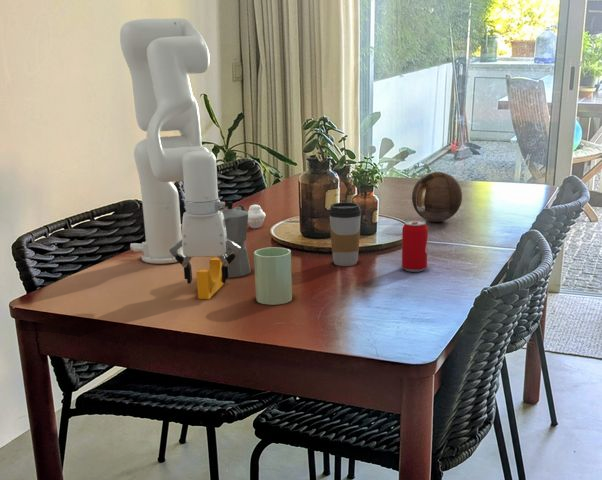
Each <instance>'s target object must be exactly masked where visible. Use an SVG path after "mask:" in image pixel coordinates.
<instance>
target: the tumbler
mask: <svg viewBox="0 0 602 480" xmlns="http://www.w3.org/2000/svg"><path fill="white" fill-rule="evenodd" d="M253 263H254V287H255V289H254V290H255V301H256V302H257V303H259V304H261V305H267V306H268V305H269V306H272V305H273V306H276V305H283V304H284V305H285V304H287V303H289V302H291V301H292V300H293V276H292V273H293V271H292V270H293V269H292V250H291V249H289V248H285V247H278V246H277V247H276V246H275V247H263V248H259V249H255V250H254V252H253Z"/></svg>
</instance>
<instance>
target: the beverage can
mask: <svg viewBox="0 0 602 480" xmlns="http://www.w3.org/2000/svg"><path fill="white" fill-rule="evenodd" d="M401 235H402V236H401V267H402V269H403V270H404V271H407V272H410V273H411V272H412V273H419V272H423V271H424V270H426V269H427V268H428V244H429V243H428V240H429V238H428V236H429V228H428V224H427V222H426V221H425V220H423V219H409V220H406V221H404V223H403V226H402V229H401Z"/></svg>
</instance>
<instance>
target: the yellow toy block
mask: <svg viewBox="0 0 602 480" xmlns="http://www.w3.org/2000/svg"><path fill="white" fill-rule="evenodd" d="M221 267H222V262H221V260H220V259H219V258H218V257H210V258H209V269H207V268H206V269H205V268H203V269H202V268H198V269H197V270H196V273H195V274H196V285H197V287H196V288H197V299H198V300H199V299H200V300H210V299H211V298H212V297H213V296H214V295H215V294H216V293H217V292H218V290H220V289H221V287H223V286H224V285H225V283H222V269H221Z"/></svg>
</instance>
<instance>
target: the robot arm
mask: <svg viewBox="0 0 602 480" xmlns="http://www.w3.org/2000/svg"><path fill="white" fill-rule="evenodd" d="M119 42H120V43H119V44H120V48H121V52H122V55H123V58H124V60H125V63H126V66H127V68H128V70H129V73H130V76H131V77H130V78H131V81H132V82H131V83H132V93H133V102H134V111H135V117H136V122H137V125H138V128H139V129H140V130H141V131H143V132H146V135H145V136H146V138H143V139H141V140H139V141H138V142H137V143H136V144H135V147H134V150H133V157H134V162H135V166H136V170H137V175H138V178H139V179H138V180H139V185H140V193H141V202H142V203H141V205H142V214H143V215H142V216H143V226H144V236H145V237H144V238H145V241H142V242H141V243H137V242H133V243H132V242H131V243H130V245H129V246H130V251H131V252H134V253H139V252H142V253H141V255H140V256H141V261H143V262H145V263H148V264H157V265H165V264H166V265H167V264H174V263H178V264H180V265H181V267H182V268H183V275H184V280H186V283H187V285H190V284H191V283H192V281H193V272H192V264H191V262H190V261H191V259H192V258H219V259H220V260H221V262H222V267H221V269H222V283H224V284H226V283H227V280H228V279H230V277H229V266H228V265H229V264H230V263H231V262H232V261H233V260H234V259H235V257H236V256H237V254H238V253H239V251H240V249H241V247H240V246H238V245H237V244H235V243H234V242H232V241H231V240H230V239H228V238H227V234H226V226H225V220H224V216H223V212H222V211H221V209H226V202H225V201H221V200H220V198H219V188H218V171H217V158H216V155H215V154H214V153H213V152H211V151H209V149H208V148H207V147H205V146H203V142H202V130H201V118H200V109H199V106H198V105H199V104H198V103H197V100H196V97H195V96H194V95H193V90H192V86H191V82H190V77H189V75H195V74H203V73H205V72H207V71H208V69H209V67H210V62H211V61H210V52H209V48H208V45H207V43H206V40H205V39H204V37H203V36H202V34H201V33H200V32H199V30H198V29H197V28H196V26H195V25H194V24H193V23H192V22H191V21H190V20H188V19H186V18H180V17H179V18H178V17H177V18H176V17H175V18H140V19H133V20H129V21H126V22H125V23H124V24H122V26H121V27H120V32H119ZM172 131H179V132H180V135H169V136H168V135H167V136H161V132H172ZM175 182H183V192H184V205H185V212H183V215H182V221H181V211H180V197H179V195H180V194H179V191H178V189H177V187H176V185H175V184H174V183H175ZM181 222H182V223H181ZM227 246H229V247H230V248H231V249H233V252H232V253H231V254H230V255H229V256H228V257H227V255H226V254H225V253H226V250H227Z"/></svg>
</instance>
